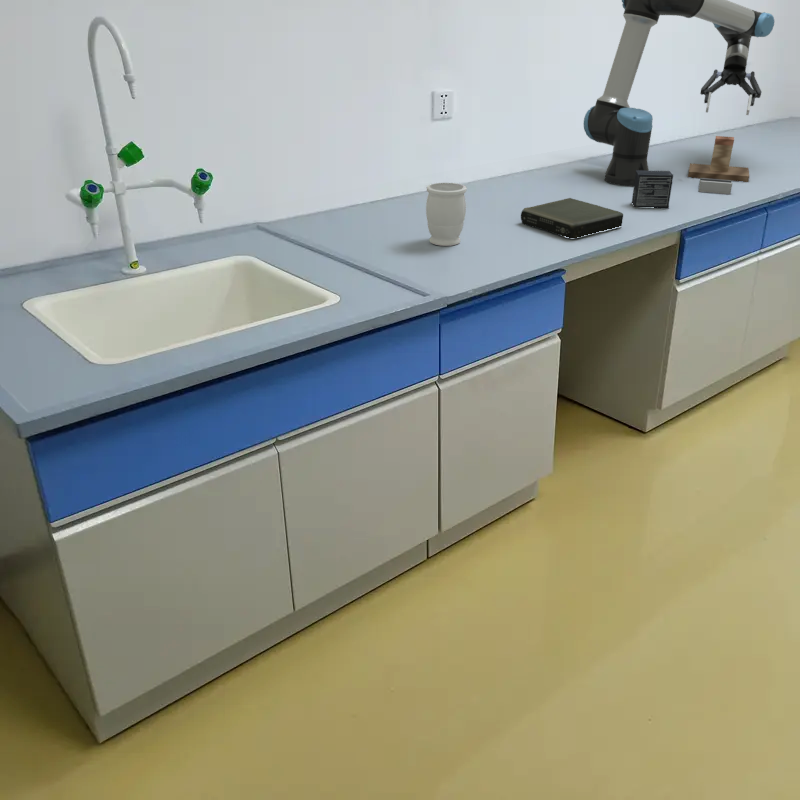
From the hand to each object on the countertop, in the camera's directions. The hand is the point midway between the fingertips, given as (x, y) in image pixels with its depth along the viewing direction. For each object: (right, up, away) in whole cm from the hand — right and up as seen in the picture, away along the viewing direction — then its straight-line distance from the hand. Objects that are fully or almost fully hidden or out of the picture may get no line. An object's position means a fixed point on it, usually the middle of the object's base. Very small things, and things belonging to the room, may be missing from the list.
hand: (727, 111), depth 287 cm
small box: (-38, -42, -33) cm, 65 cm away
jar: (-104, -59, -66) cm, 136 cm away
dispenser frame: (-11, -32, -15) cm, 37 cm away
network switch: (-66, -52, -52) cm, 99 cm away
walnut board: (-2, -22, +3) cm, 22 cm away
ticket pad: (-2, -20, +2) cm, 20 cm away
